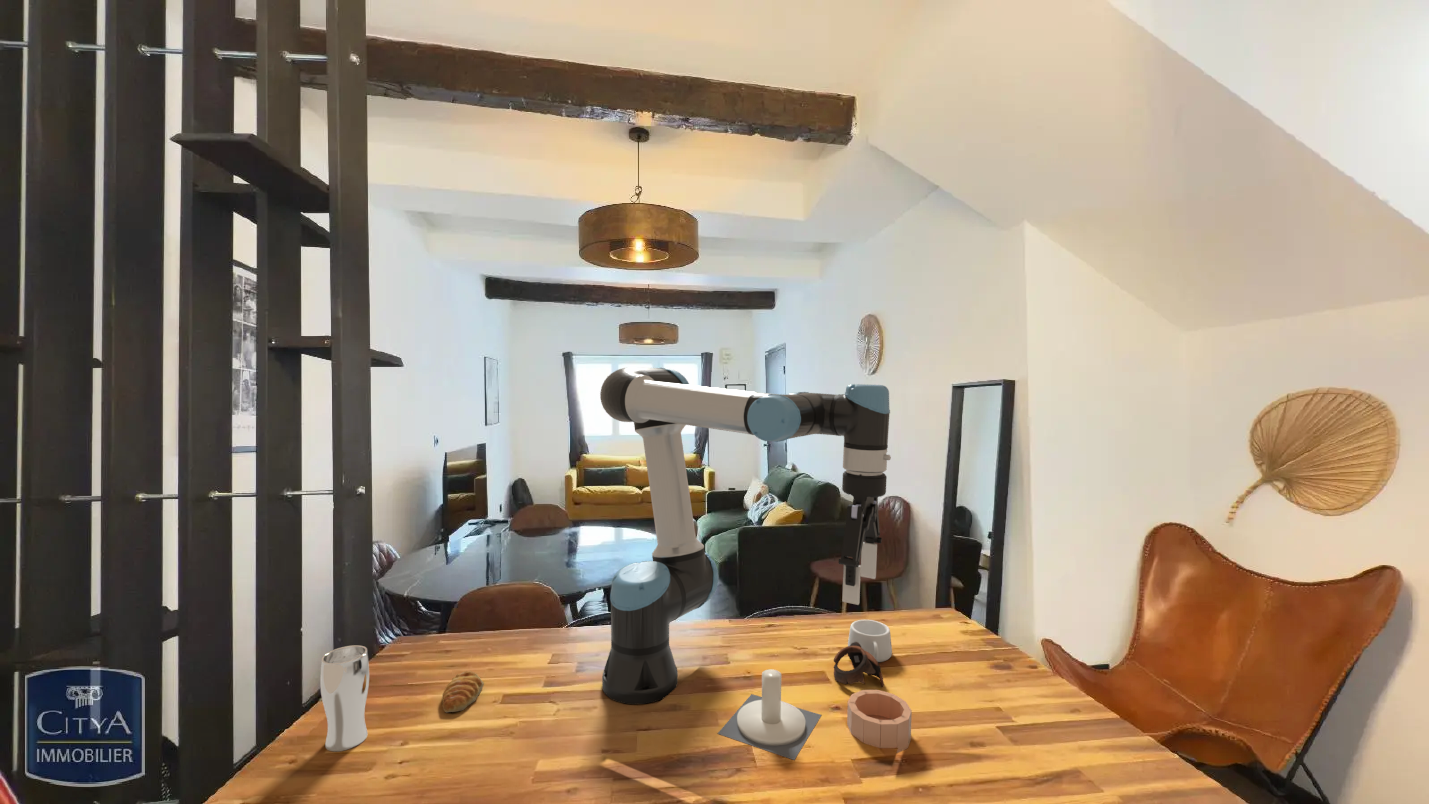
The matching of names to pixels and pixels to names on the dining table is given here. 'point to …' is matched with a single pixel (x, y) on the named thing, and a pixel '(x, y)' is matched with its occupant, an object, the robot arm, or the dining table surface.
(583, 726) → the dining table surface
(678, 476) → the robot arm
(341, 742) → the beer glass
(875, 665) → the broken pottery
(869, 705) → the bowl
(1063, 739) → the dining table surface
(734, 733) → the mat
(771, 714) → the lid
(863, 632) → the mug
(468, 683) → the pastry
